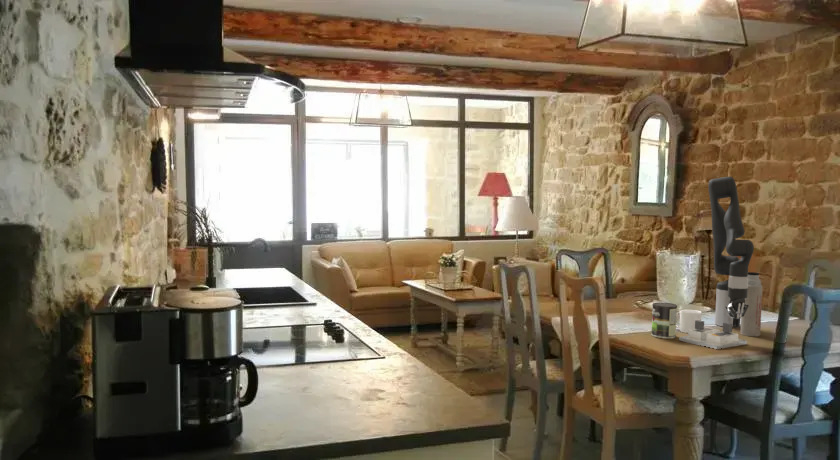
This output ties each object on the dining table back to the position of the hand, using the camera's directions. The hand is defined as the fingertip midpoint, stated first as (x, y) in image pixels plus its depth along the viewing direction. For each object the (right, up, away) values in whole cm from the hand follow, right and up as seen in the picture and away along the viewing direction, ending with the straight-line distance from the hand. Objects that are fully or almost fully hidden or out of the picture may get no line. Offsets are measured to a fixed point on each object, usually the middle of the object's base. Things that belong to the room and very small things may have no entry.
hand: (736, 327), depth 284 cm
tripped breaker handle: (-5, -2, -3) cm, 6 cm away
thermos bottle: (+14, -6, +16) cm, 22 cm away
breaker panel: (-10, -6, 0) cm, 12 cm away
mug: (-12, -5, +22) cm, 26 cm away
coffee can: (-27, -6, +11) cm, 30 cm away
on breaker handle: (-15, -1, +2) cm, 15 cm away
